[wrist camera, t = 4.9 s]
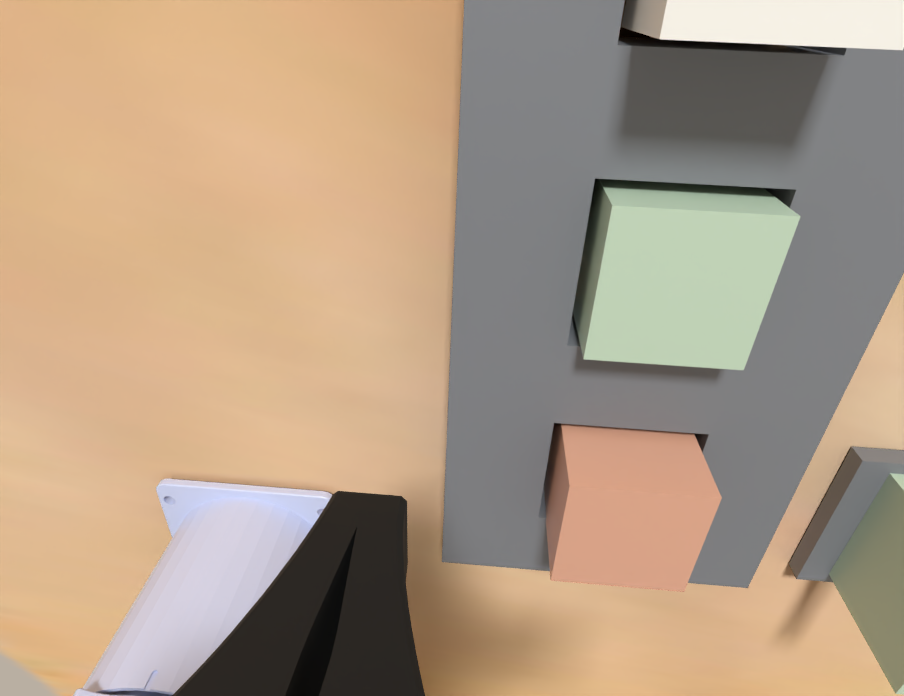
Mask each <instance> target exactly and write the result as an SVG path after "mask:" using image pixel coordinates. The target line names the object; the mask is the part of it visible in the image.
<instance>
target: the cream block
mask: <svg viewBox="0 0 904 696" xmlns="http://www.w3.org/2000/svg"><path fill="white" fill-rule="evenodd" d="M622 27H623V28H626V29H629V30H632V31H635V32H638V33H641V34H644V35H648V36H651V37H654V38H657V39H662V40H684V41H707V42H729V43H751V44H773V45H796V46H818V47H840V48H862V49H885V50H903V48H904V0H626V4H625V9H624V15H623V21H622Z"/></svg>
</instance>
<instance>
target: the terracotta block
mask: <svg viewBox="0 0 904 696" xmlns="http://www.w3.org/2000/svg"><path fill="white" fill-rule="evenodd" d="M544 495H545V507H546V530H547V542H548V554H549V566H550V579H551V580H552V581H563V582H575V583H587V584H598V585H610V586H622V587H633V588H645V589H656V590H668V591H680V592H684V591H685V588H686V586H687V583H688V581H689V578H690V576H691V573H692V571H693V568H694V566H695V563H696V561H697V558H698V556H699V553H700V551H701V549H702V546H703V544H704V541H705V539H706V536H707V534H708V531H709V529H710V526H711V524H712V521H713V519H714V516H715V514H716V511H717V509H718V506H719V504H720V501H721V499H722V497H721V495H720V493H719V490H718V488H717V486H716V483H715V481H714V479H713V476H712V474H711V472H710V469H709V467H708V465H707V462H706V460H705V458H704V455H703V453H702V451H701V448H700V446H699V444H698V442H697V439H696V437H695V435H694V433H683V432H669V431H656V430H642V429H629V428H615V427H602V426H588V425H575V424H561V423H555V426H554V431H553V437H552V443H551V449H550V455H549V461H548V467H547V473H546V479H545V485H544Z"/></svg>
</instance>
